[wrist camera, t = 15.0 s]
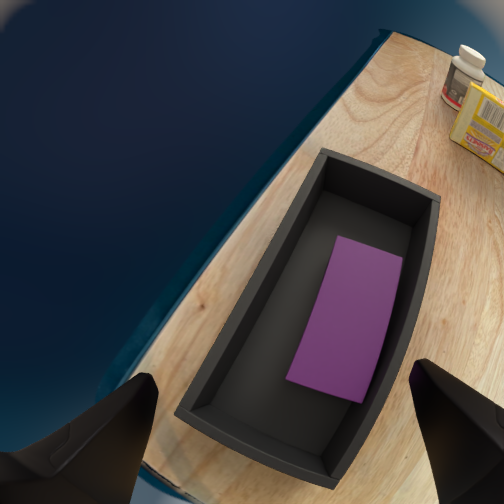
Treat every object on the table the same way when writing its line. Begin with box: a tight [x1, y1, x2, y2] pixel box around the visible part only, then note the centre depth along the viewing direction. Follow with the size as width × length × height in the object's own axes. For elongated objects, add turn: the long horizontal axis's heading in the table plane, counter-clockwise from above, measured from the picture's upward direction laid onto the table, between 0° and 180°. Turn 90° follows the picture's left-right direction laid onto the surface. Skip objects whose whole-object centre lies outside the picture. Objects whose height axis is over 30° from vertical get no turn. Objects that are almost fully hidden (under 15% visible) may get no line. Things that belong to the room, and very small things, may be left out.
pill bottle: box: [441, 45, 486, 111], centre depth 22 cm, size 5×5×10 cm
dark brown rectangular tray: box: [174, 148, 441, 490], centre depth 16 cm, size 19×9×4 cm, turn 152°
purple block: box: [285, 235, 403, 404], centre depth 15 cm, size 4×3×9 cm
